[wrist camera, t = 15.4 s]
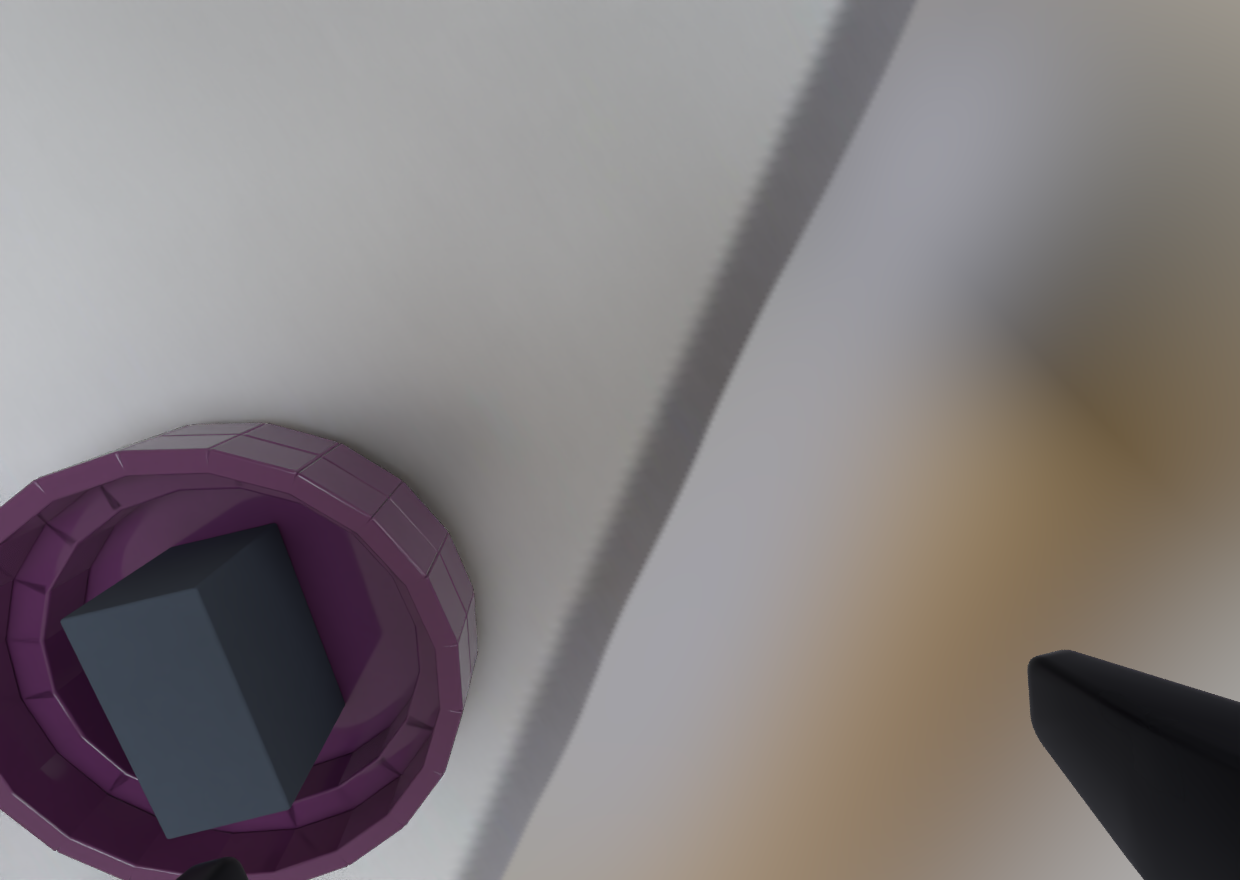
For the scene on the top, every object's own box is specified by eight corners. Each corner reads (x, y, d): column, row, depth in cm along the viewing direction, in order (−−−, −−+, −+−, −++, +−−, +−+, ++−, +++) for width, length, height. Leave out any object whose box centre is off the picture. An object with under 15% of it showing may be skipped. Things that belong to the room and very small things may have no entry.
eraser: (169, 546, 18) (57, 620, 14) (277, 521, 18) (195, 587, 14) (247, 728, 19) (166, 841, 15) (346, 704, 19) (290, 811, 15)
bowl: (77, 362, 17) (-47, 382, 13) (526, 485, 19) (517, 529, 15) (24, 749, 19) (-92, 847, 16) (426, 825, 21) (398, 928, 18)
